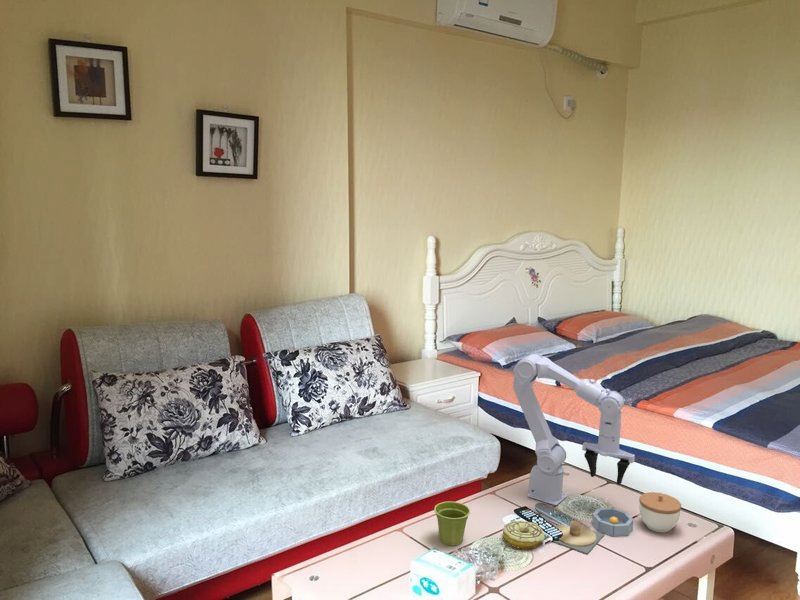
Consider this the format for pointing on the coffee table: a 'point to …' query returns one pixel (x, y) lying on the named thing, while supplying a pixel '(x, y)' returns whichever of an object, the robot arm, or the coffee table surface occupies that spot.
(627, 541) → the coffee table surface
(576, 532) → the lid
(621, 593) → the coffee table surface
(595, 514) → the bowl
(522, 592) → the coffee table surface
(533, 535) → the decorated donut
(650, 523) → the lidded jar
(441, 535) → the plant pot
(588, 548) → the mat
